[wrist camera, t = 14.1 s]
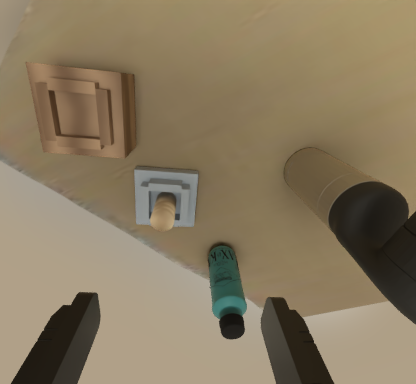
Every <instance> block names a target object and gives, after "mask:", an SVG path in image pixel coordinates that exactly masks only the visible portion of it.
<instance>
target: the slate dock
mask: <svg viewBox="0 0 416 384" xmlns="http://www.w3.org/2000/svg"><path fill="white" fill-rule="evenodd" d="M134 172H135V202H136V224H148V225H151V223H150V218H151V215H152V212H153V209H154V205H155V202H156V199H157V196H158V195H159V194H160V193H161V192H172V193H173V194H174V195H175V196H176V199H177V203H176V211H175V219H174V225H173V226H174V227H179V226H187V227H194V218H195V207H196V196H197V184H198V171H194V170H181V169H168V168H154V167H141V166H137V167H136V168H135V170H134Z"/></svg>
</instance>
